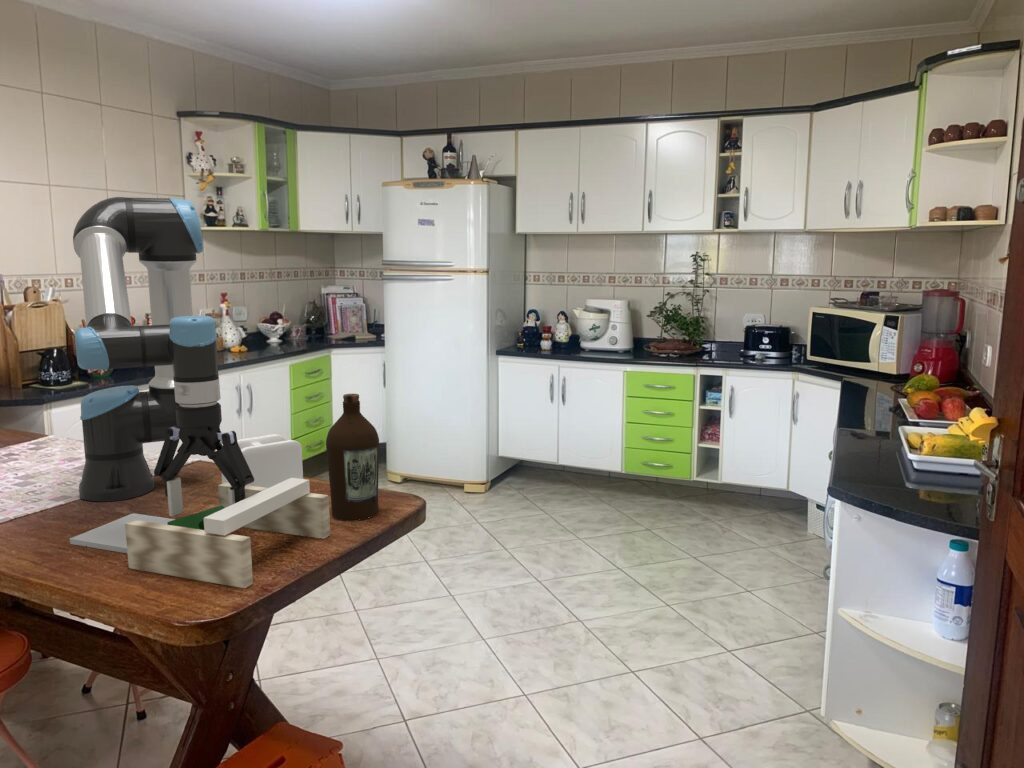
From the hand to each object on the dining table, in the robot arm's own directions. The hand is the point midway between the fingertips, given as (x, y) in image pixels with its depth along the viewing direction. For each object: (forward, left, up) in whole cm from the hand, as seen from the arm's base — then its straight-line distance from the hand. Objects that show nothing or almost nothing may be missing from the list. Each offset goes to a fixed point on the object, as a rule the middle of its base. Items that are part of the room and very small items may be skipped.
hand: (206, 518), depth 142 cm
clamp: (-1, 0, -6) cm, 6 cm away
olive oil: (+16, +25, -6) cm, 30 cm away
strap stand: (+6, 0, -6) cm, 8 cm away
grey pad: (-18, 0, -6) cm, 19 cm away
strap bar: (+12, 0, +3) cm, 12 cm away
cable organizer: (-12, +32, -6) cm, 35 cm away
